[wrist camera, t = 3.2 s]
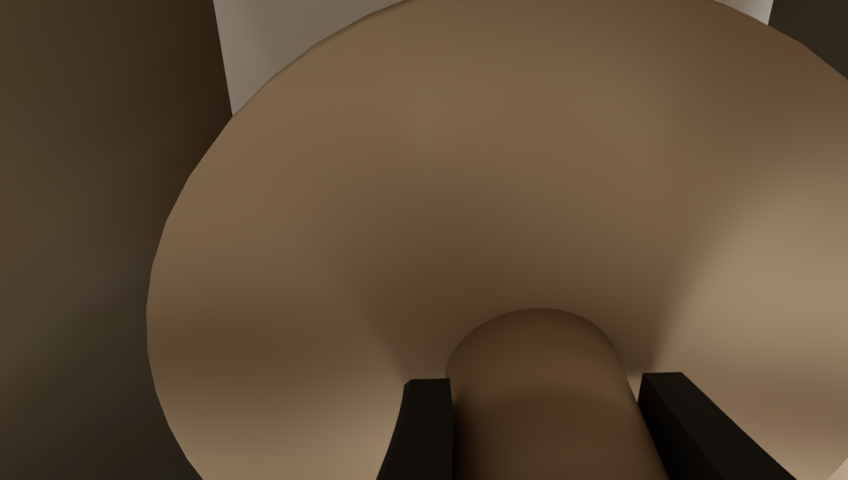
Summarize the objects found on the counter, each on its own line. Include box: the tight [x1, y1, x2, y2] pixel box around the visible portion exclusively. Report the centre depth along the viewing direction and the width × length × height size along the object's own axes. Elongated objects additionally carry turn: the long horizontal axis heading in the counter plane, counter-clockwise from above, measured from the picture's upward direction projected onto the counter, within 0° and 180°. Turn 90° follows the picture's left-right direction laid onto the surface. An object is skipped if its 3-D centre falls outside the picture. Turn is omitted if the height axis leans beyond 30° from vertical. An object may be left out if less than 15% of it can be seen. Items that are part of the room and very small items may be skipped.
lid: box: [146, 0, 848, 480], centre depth 10 cm, size 13×13×5 cm
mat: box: [213, 0, 773, 115], centre depth 18 cm, size 13×13×1 cm
